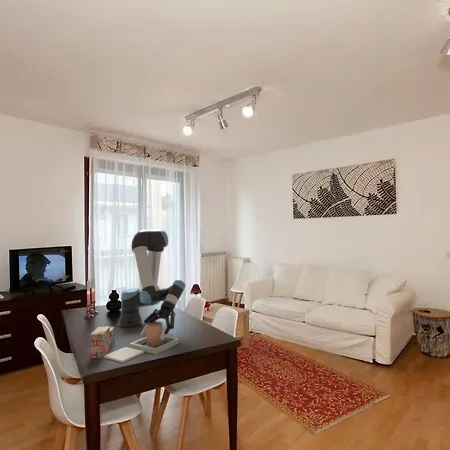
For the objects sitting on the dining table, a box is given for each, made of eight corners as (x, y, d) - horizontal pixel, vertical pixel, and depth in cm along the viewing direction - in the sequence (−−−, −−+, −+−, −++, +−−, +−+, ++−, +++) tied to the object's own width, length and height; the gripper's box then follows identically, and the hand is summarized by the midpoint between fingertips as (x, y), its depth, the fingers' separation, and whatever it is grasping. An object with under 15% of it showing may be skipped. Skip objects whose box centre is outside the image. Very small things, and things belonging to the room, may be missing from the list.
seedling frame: (129, 348, 176) (129, 343, 176) (153, 338, 191) (153, 333, 192) (155, 354, 166) (155, 349, 166) (178, 343, 182) (178, 338, 182)
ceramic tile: (104, 357, 162) (104, 355, 162) (125, 348, 175) (125, 346, 175) (122, 362, 156) (122, 360, 156) (143, 353, 168) (143, 351, 168)
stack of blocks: (103, 343, 183) (103, 321, 183) (114, 343, 183) (114, 321, 184) (90, 358, 162) (90, 333, 162) (103, 358, 162) (103, 333, 162)
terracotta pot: (143, 346, 177) (143, 324, 178) (154, 342, 185) (153, 320, 185) (155, 349, 173) (155, 326, 173) (165, 344, 180) (165, 322, 181)
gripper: (150, 298, 194) (131, 330, 181) (183, 302, 182) (166, 337, 169) (156, 305, 199) (138, 337, 185) (189, 309, 186) (173, 344, 173)
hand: (151, 337), depth 177 cm, fingers open, 13 cm apart
